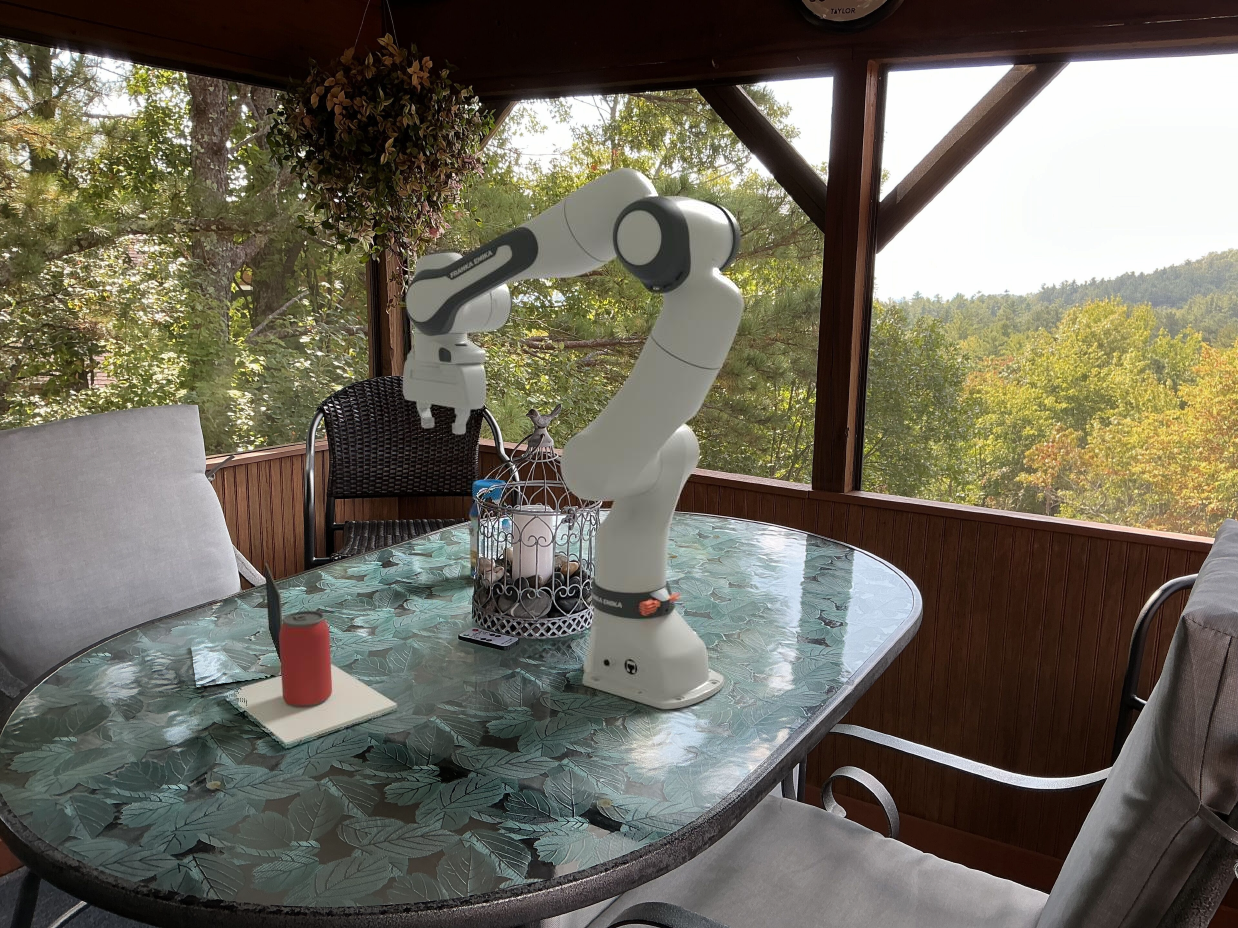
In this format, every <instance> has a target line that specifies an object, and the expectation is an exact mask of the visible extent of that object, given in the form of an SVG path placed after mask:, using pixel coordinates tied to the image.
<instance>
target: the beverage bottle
mask: <svg viewBox="0 0 1238 928" xmlns="http://www.w3.org/2000/svg"><path fill="white" fill-rule="evenodd" d="M504 484H506V482H505V480H500V479H495V478H494V479H493V478H491V479H490V478H489V479H486V478H485V479H479V480H475V481H473V483H472V489H471V490H472V499H473V500H474V503H473V504H472V506H471V509H470V510H469V511H470V512H469V513H468V514H469V515H468V516H469V519H470V523H469V525H468V532H469V547H470V549H469V551H470V552H469V553H470V555H469V556H470V557H469V558H470V572H469V573H470V577H471V579H472V578H474V575H475V567H476V559H477V531H478V513H477V505H476V495H477V493H478V492H479V490H480V489H482V488H489V487H491V486H493V485H504ZM506 485H507V484H506ZM505 492H506V493H507V488H506V489H505ZM501 494H502V489H501V488H495V489H493V490H492V492H491V493H485V495H484V496H483V498H484V499H486V498H489V497H491V499H492V502H494V503H495V504H498V503H499V501H500V498H501ZM506 497H507V494H506V495H505V499H506ZM504 505H506V506H507V507H508V505H507V503H505V501H504ZM511 527H512V526H511V522H510V521H509V519H504V520H503V521H502V529H503V531H505V532H506V533H510V534H511V531H512V528H511ZM494 532H495V527H494ZM492 546H494V540H493V541H492ZM501 550H503V547H502V546H501ZM481 554H482V556H484V555H485V541H484V539H482V541H481Z"/></svg>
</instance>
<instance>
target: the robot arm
mask: <svg viewBox="0 0 1238 928" xmlns="http://www.w3.org/2000/svg"><path fill="white" fill-rule="evenodd" d="M741 239H742V237H741V229H740V227H739V224H738V221H737V219H736V218H735V216H734V215H733V214H732V213H731V212H730V211H729V210H728V209H726V208H725V207H724V206H721V205H720V204H718V203H715V202H712V201H709V200H703V199H702V200H701V199H695V198H692V197H688V196H682V195H671V196H670V195H669V196H662V195H661V196H660V195H659V194H658V192H657V189H656V188H655V186H654V184H653V183H652V182H651V180H650V179H649V178H648V177H647V176H646V175H645V174H643V173H642V172H641V171H639V170H637V169H634V168H631V167H630V168H629V167H622V168H618V169H617V168H616V169H615V170H613V171H610V172H607V173H605V174H603V175H601V176H599V177H597V178H595V179H593V180H591V181H589V182H587V183H586V184H584V185H582V186H581V187H578V188H577V189H576V190H575V191H573V192H571V193H570V194H568V195H567V196H565V197H564V198H563V199H561V200H560V201H558V202H556V203H555V204H553V205H552V206H551V207H549V208H548V209H547V208H546V210H544V211H542V212H541V213H540V214H538V215H536V216H534V217H533V218H531V219H529V220H527V221H526V222H523V223H522V224H520V225H518V226H517V227H515V228H513V229H511V230H508V231H507V232H506V233H503V234H501V235H499V236H497V237H495V238H493V239H491V240H490V241H487V242H486V243H485V244H482V245H480V246H479V247H477V248H476V249H474V250H472V251H470V252H469V253H467V254H465V255H464V256H462V255H461V254H460V253H458V252H455V251H437V252H436V251H435V252H430V253H426V254H423V255H422V256H420V257H419V258H418V259H417V261H416V262H415V263H416V264H415V269H414V273H413V278H412V279H411V281H410V282H409V284H408V286H407V288H406V290H405V294H404V308H405V312H406V314H407V317H408V318H409V320H410V321H411V323H412V325H414V330H413V331H414V333H413V335H414V337H413V338H414V347H413V348H411V350H410V351H409V352H408V354H407V355H406V360H405V362H404V366H403V373H402V374H403V376H402V394H403V396H404V399H405V400H407V401H412V402H416V408H417V412H418V415H419V417H420V424H421V428H424V429H433V428H434V427H435V417H432V412H431V409H430V408H431V407H432V405H437V406H442V407H447V408H448V407H449V408H454V414H455V415H456V417H455V422H454V423H452V424H451V427H452V428H451V429H452V430H451V431H452V433H453V434H455V435H465V433H466V432H467V431H466V430H467V428H466V427H467V426H466V424H467V422H468V420H469V418H470V416H471V410H478V409H482V408H483V407H484V405H485V403H486V400H487V399H486V398H487V397H486V396H487V378H486V371H485V367H484V365H483V363H484V364H485V363H486V360H487V356H486V351H485V350H484V349H483V348H481V347H480V346H478V345H476V344H475V343H474V342H472V341H471V340H470V339H468V334H473V333H488V332H493V331H496V330H497V331H498V330H500V329H502V328H503V327H504V326H505V325H506V324H507V323H508V321H509V319H510V317H511V314H512V311H513V310H512V309H513V297H512V293H511V289H510V287H509V286H508V284H510V283H513V282H518V281H523V280H524V281H525V280H533V279H534V280H535V279H561V278H564V279H565V278H573V277H578V276H581V275H584V274H587V273H589V272H593V271H594V270H597V269H600V268H601V267H602V266H604V265H606V264H607V263H609V262H611V261H612V260H615V258H617V259H618V260H619V262H620V264H621V266H623V267H624V268H625V269H626V270H627V272H629V273H630V274H631V275H633V276H634V277H635V278H636V279H637V280H639V282H640V283H641V284H642V286H644V288H645V289H646V290H647V291H648V292H650V293H651V294H655V295H661V294H662V298H663V299H662V300H663V301H662V305H661V309H660V312H659V314H658V317H656V318H657V319H656V320H655V322H654V325H653V326H652V328H651V331H650V333H649V335H648V337H647V339H646V342H645V343H644V346H643V348H642V350H641V352H640V354H639V355H638V358H637V360H636V362H635V364H634V366H633V368H632V371H631V372H630V374H629V375H628V377H627V379H626V381H625V382H624V383H623V385H622V386H621V388H620V389H619V390H618V391H617V393H615V395H614V396H613V397H612V398H611V400H610V401H609V402H608V403H607V405H606V406H605V407H604V408H603V410H601V411H600V413H599V414H598V415H597V416H596V418H594V419H593V420H592V422H591V423H590V424H588V425H587V426H586V427H584V429H582V430H581V431H580V432H578V433H577V434H576V435H574V436H572V437H571V438H570V439H569V440H568V441H567V442H566V443H565V444H564V447H563V449H562V452H561V456H560V473H561V477H562V479H563V481H564V484H565V485H566V487H567V489H568V490H569V491H570V492H571V493H572V494H573V495H574V496H576V497H577V498H579V499H580V500H584V501H595V502H599V501H600V502H612V501H613V502H612V505H611V507H610V510H609V512H608V513H607V515H606V516H605V518H604V519H603V520H602V521H601V522H600V524H599V525H598V528H597V529H596V533H595V537H594V542H595V543H594V578H593V580H592V582H591V590H590V596H591V605H592V607H593V615H592V621H591V625H590V632H589V640H588V648H587V652H586V657H585V660H584V663H583V665H582V667H583V669H582V670H583V672H584V673H583V676H582V681H581V682H582V684H583V686H586V687H589V688H593V689H596V690H599V691H603V692H606V693H609V694H612V695H615V696H618V697H622V698H625V699H628V700H632V701H634V702H638V703H641V704H644V705H648V706H651V707H654V708H658V709H662V710H671V709H673V710H674V709H678V708H684V707H688V706H691V705H694V704H697V703H699V702H701V701H704V700H706V699H708V698H710V697H712V696H714V695H716V694H717V693H718V692H719V691H720V690H721V689H722V688H723V687H724V684H725V681H724V680H725V679H724V678H725V677H724V675H722V674H720V673H719V672H717V671H714V669H711V668H710V667H709V655H708V650H707V649H708V648H707V647H706V646H707V645H706V644H705V642H704V641H703V640H702V639H701V637H699V635H698V634H697V632H695V631H694V630H693V629H692V627H691V626H690V625H689V624H688V623H687V622H686V620H684V618H683V617H682V616H681V614H679V612H678V611H677V610H676V609H675V608H676V604H675V602H677V601H680V600H681V598H680V597H679V596H680V595H681V593H680V592H677V593H674V594H673V593H672V589H671V587H670V583H669V581H668V580H667V572H668V554H669V553H668V551H669V550H668V549H669V537H670V536H669V535H670V531H671V526H672V521H673V517H674V514H675V510H676V507H677V504H678V501H679V499H680V495H681V492H682V490H683V488H684V487H685V484H686V482H687V480H688V479H689V478H690V476H691V475H692V473H694V471H695V469H696V468H697V466H698V463H699V460H700V445H699V440H698V438H697V436H696V434H695V432H694V431H693V429H692V428H690V426H688V425H687V424H686V422H688V421H689V420H691V419H692V418H693V417H694V416H695V415H696V414H697V413H698V412H699V410H700V409H701V407H702V406H703V403H704V402H705V399H707V395H708V393H709V392H710V389H711V388H712V385H713V384H714V382H715V380H716V378H717V377H718V374H719V372H720V370H721V368H722V367H723V365H724V363H725V361H726V359H727V357H728V354H729V352H730V349H731V347H732V345H733V342H734V340H735V338H736V334H737V332H738V329H739V326H740V323H741V319H742V315H743V312H744V306H745V301H744V297H743V294H742V291H741V290H740V289H739V287H738V286H737V285H736V284H735V282H733V281H732V280H731V279H730V278H728V277H727V276H725V275H723V273H722V271H724V270H726V269H727V268H728V267H729V266H730V265H731V264H732V263H733V262H734V261H735V259H736V257H737V255H738V253H739V251H740V248H741V242H742V240H741Z"/></svg>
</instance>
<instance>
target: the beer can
mask: <svg viewBox="0 0 1238 928" xmlns="http://www.w3.org/2000/svg"><path fill="white" fill-rule="evenodd" d="M279 642H280V659H281V676H282V693H283V699H284V701H285V702H286V703H288V704H289V705H292V706H297V707H306V706H313V705H317V704H319V703H322V702H324V701H325V700H327V699H328V698H329V697H330V696H331V693H332V677H331V664H332V660H331V639H330V628H329V625H328V622H327V621H326V618H325V614H324V613H322V612H321V611H317V610H302V611H301V610H300V611H296V612H292V613H289V614H287V615H285V616H284V617H282V626H281V629H280V633H279Z"/></svg>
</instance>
